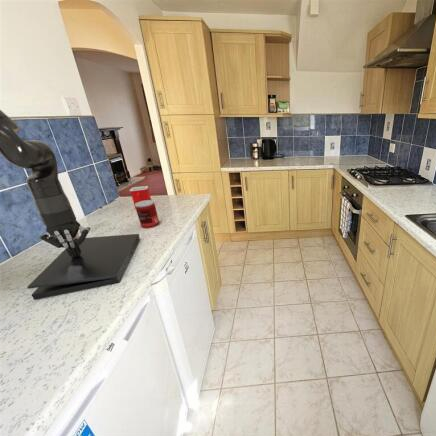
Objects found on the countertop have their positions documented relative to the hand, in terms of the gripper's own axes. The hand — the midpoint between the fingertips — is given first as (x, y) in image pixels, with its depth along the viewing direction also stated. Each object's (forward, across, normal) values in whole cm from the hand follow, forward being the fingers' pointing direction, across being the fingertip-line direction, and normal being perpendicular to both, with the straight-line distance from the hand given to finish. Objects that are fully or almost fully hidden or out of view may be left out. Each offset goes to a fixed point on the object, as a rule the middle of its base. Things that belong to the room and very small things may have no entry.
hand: (76, 256), depth 82 cm
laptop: (+4, -5, 0) cm, 6 cm away
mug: (+4, -9, -58) cm, 59 cm away
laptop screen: (+1, -5, 0) cm, 5 cm away
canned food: (+4, -17, -30) cm, 35 cm away
